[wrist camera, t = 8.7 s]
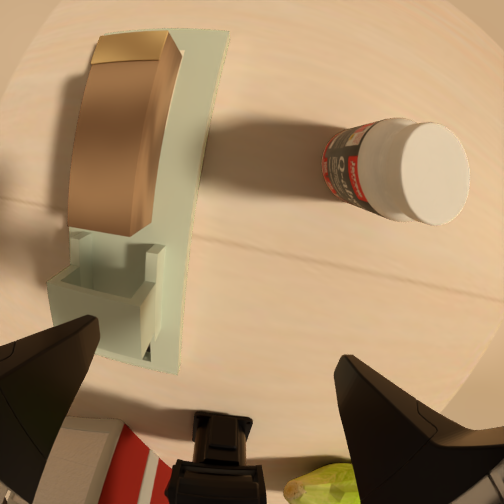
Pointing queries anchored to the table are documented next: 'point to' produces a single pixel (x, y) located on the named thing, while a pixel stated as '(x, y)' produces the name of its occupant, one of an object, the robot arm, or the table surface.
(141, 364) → the tunnel deck
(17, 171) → the table surface
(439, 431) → the robot arm
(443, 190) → the pill bottle
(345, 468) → the lettuce
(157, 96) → the brown rectangular block
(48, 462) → the red striped block
